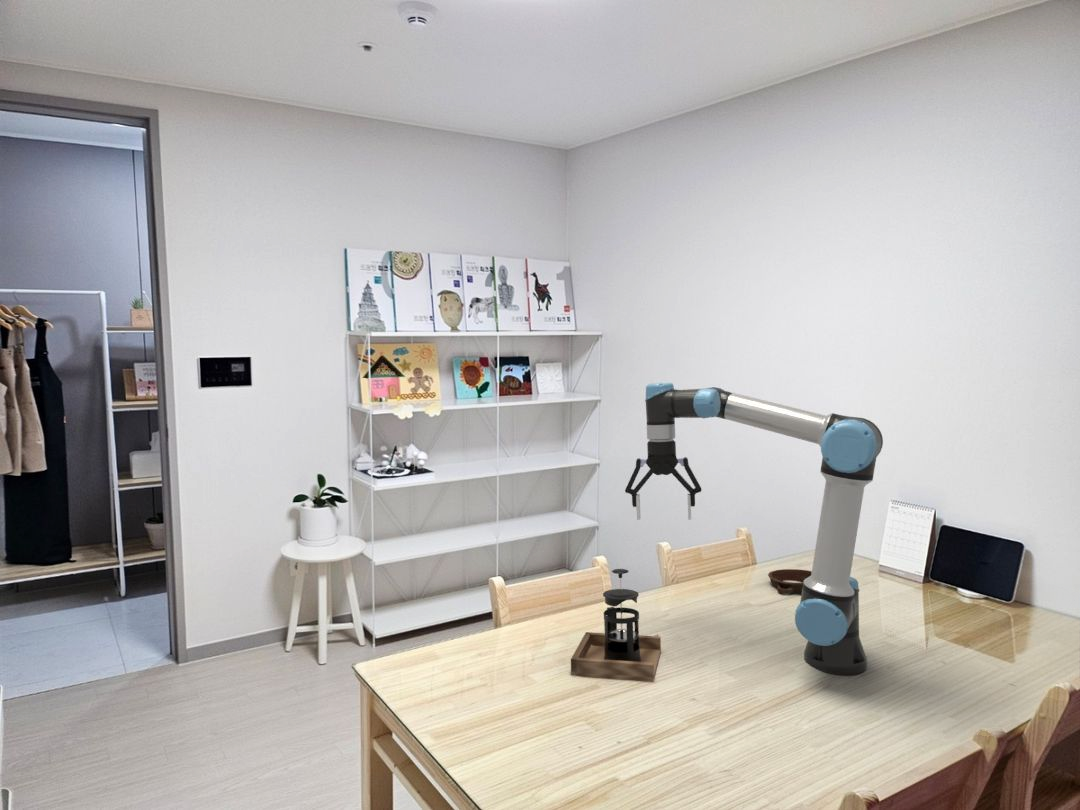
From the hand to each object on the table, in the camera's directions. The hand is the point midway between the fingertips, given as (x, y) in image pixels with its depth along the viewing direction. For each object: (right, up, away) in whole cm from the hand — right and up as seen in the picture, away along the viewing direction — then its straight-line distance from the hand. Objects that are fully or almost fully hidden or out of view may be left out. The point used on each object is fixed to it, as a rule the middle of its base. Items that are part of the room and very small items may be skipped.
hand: (664, 518), depth 203 cm
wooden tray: (-14, -35, -12) cm, 39 cm away
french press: (-13, -34, -11) cm, 38 cm away
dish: (+52, -31, +49) cm, 78 cm away
